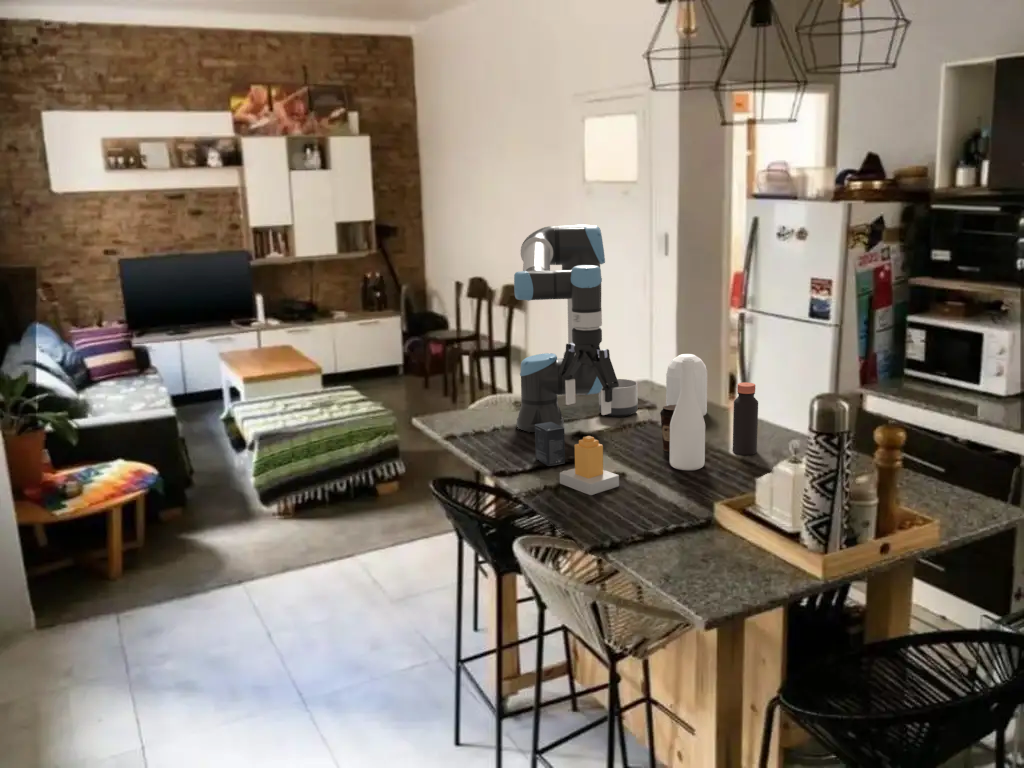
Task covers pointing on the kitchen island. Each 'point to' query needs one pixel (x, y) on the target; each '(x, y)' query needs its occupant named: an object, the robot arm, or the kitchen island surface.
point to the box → (550, 443)
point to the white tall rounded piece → (687, 425)
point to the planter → (623, 398)
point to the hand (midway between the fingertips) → (588, 408)
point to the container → (676, 381)
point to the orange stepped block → (588, 457)
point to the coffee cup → (666, 425)
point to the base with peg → (589, 481)
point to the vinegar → (745, 420)
